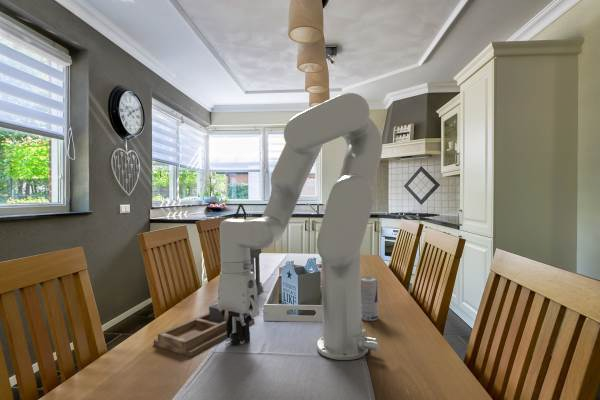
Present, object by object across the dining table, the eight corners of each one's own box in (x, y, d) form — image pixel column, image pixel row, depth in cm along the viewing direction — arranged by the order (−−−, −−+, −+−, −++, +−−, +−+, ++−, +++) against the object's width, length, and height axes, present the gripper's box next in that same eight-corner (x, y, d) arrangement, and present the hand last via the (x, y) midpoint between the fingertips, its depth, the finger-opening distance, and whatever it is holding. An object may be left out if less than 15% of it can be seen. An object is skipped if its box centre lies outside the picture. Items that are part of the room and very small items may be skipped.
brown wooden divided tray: (254, 322, 100) (254, 312, 100) (190, 357, 80) (190, 343, 80) (220, 314, 107) (219, 305, 107) (153, 344, 87) (153, 332, 87)
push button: (229, 350, 82) (228, 310, 82) (221, 343, 87) (220, 304, 87) (253, 343, 86) (252, 304, 86) (244, 336, 91) (243, 299, 91)
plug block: (234, 319, 100) (233, 297, 100) (219, 326, 95) (218, 303, 95) (224, 317, 102) (223, 295, 102) (209, 324, 97) (208, 301, 97)
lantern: (261, 297, 125) (258, 203, 125) (216, 298, 125) (213, 204, 125) (266, 284, 142) (264, 202, 141) (227, 285, 142) (224, 203, 142)
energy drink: (379, 316, 103) (378, 277, 103) (375, 322, 98) (375, 281, 98) (362, 314, 105) (361, 276, 105) (358, 320, 100) (357, 280, 100)
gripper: (270, 266, 85) (272, 338, 85) (222, 261, 94) (224, 326, 94) (251, 273, 79) (254, 350, 79) (202, 267, 87) (204, 336, 88)
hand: (238, 336), depth 86 cm, fingers closed on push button, 3 cm apart
